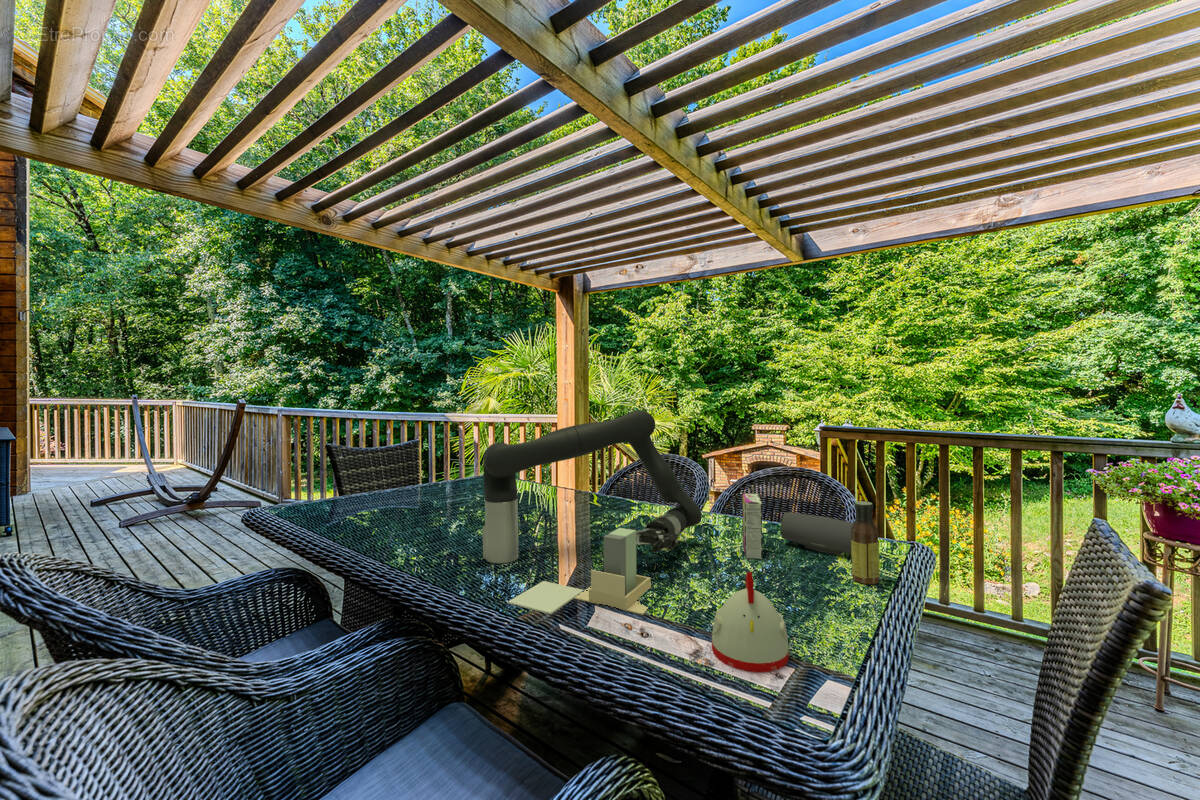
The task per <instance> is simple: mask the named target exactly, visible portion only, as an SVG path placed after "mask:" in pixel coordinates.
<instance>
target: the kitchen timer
mask: <svg viewBox="0 0 1200 800" xmlns="http://www.w3.org/2000/svg"><path fill="white" fill-rule="evenodd" d="M745 576H746V577H745V588H742V589H740V590H738V591H736V592H734V593H733V594H732V595H730V596H729V597H728V598H727V599H726V601H724V604H723V605H722V607H721V608H717V610H716V613H715V616H714V621H713V627H712V636H711V651H712V653H713V656H714V657H716V659H717V660H719V661H720V662H722V663H723V664H725V665H726V666H729V667H731V668H734V669H737V670H740V671H744V672H753V673H769V672H773V671H778V670H780V669H782V668H783V667H785V666H786V665H787V663H788V662H789V641H788V639H789V637H788V631H787V626H786V622H785V620H784V618H783V616H782V613H780V612H778V611H777V609H776V608H775V606H774V605H773V603H772V602H771V601H770V599H768V598H767V597H766V596H765V595H764V594H763V593H761V592H760V591H758V590H755V589H754V580H753V579H754V578H753V572H752V571H751V572H750V571H747V572H746V575H745Z"/></svg>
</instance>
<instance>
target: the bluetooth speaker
mask: <svg viewBox="0 0 1200 800" xmlns="http://www.w3.org/2000/svg"><path fill="white" fill-rule="evenodd" d="M853 524H854V522H852V521H847V520H841V519H837V518H832V517H827V516H821V515H816V514H815V515H814V514H807V513H799V512H785V513H784V514H783V516H782V520H781V525H780V528H779V530H780V536H781V537H782V539H784V540H786V541H789V542H792V543H796V544H800V545H804V549H807V550H811V551H814V552H820V553H825V554H829V555H836V556H841V555H842V554H848V555H851V527H852V525H853Z"/></svg>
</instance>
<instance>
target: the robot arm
mask: <svg viewBox="0 0 1200 800" xmlns="http://www.w3.org/2000/svg"><path fill="white" fill-rule="evenodd" d="M655 429H656V420H655V417H653V415H652V414H651V413H649V412H647V411H645V410H642V409H637V410H633V411H630V412H628V413H625V414H624V415H622V416H619V417H615V418H613V419H608V420H603V421H595V422H588V423H581V424H576V425H570V426H567V427H562V428H559V429H556V430H553V431H550V432H549V433H546V434H544V435H542V436H541V437H538V438H535V439H533V440H528V441H526V442H520V443H514V444H513V443H512V444H508V443H505V442H494V443H492V444H490V445H489V446H488V447H487V448H486V450H485V451H484V454H483V464H482V465H483V466H482V467H483V491H484V492H483V493H484V518H485V519H484V520H485V521H484V522H485V523H484V525H483V526H482V556H483V558H482V559H484V560H485V561H487V562H488V563H491V564H507V563H511V562H514V561H516V560H518V558H519V517H518V516H519V513H518V512H519V511H518V510H519V509H518V506H519V505H518V487H517V485H518V484H517V473H520V472H523V471H526V470H528V469H531V468H534V467H538V466H542V465H547V464H553V463H558V462H561V461H567V460H570V459H571V460H572V459H574V458H579V457H583V456H586V455H588V454H592V453H596V452H598V451H600V450H603V449H606V448H608V447H610V446H613V445H618V444H622V443H627V442H628V445H630V447H631V448H632V449H633V451H634V452H635V453H636V456H638V458H639V460H640V461H641V463H642V465H643V466H644V468H645V470H646V471H647V474H648V475H649V477H650V479H651V480H652V482H653V485H654V486H655V489H656V490H657V492H658V494H659V495H660V498H661V499H662V501H663V502H664V503H666V504H667V503H677V504H678V506H675V507H674V506H673V507H672V508H670V509H668V510H667V511H666V512H665V513H664V514H662V515H660V516H658V517H656V518H654V519H652V520H650V521H649V522H648V523H647V524H646V526H645V528H644V529H641V530H636V528H635V527H631V528H630V529H631V530H636V546H639V545H651V546H652V553H654V554H657V553H658V552H661V551H662V550H663V551H664V550H665V549H667V550H668V551H673V550H674V549H675V548H676V547H677V546H678V545H679V535H681V534H682V533H683V532H684V531H685V529H688V528H690V527H693V526H696V525H699V524H700V523H701V521H702V517H703V515H702V511H701V509H700V507H699V505H698V504H697V503H696V501H694V500H693V499H692V498H691V497H690V496H689V494H688V493H687V492H686V491H685V490H684V489H683V487H682V485H681V483H680V481H679V480H678V477H677V476H676V474H675V472H674V471H673V469H672V468H671V466H670V465H669V464H668V462H667V461H666V460H665V458H664V456H662V455H661V454H660V452H659V451H658V449H657V448H656V446H655V444H654V442H653V440H652V438H651V436H652V435H653V433H654V431H655Z"/></svg>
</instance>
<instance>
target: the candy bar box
mask: <svg viewBox="0 0 1200 800" xmlns="http://www.w3.org/2000/svg"><path fill="white" fill-rule="evenodd" d="M741 494H742V496H741V497H742V547H743V552H744V557H745V559H748V560H763V502H762V499H761V497H760V494H759V493H747V492H746V493H741Z"/></svg>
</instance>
